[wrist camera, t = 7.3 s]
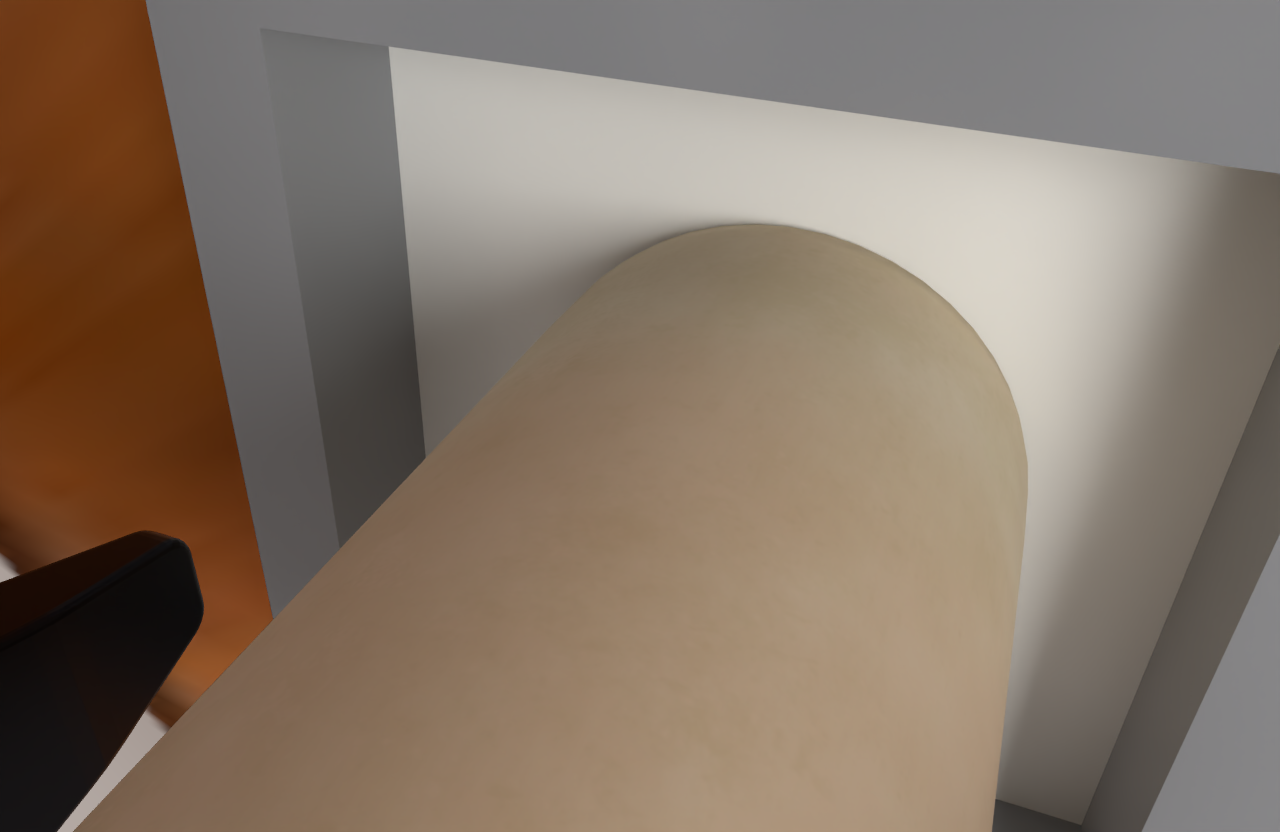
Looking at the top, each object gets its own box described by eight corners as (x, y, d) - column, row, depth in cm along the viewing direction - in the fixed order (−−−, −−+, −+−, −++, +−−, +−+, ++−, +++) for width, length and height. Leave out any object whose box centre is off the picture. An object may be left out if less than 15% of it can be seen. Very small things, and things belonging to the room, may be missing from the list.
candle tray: (2092, -339, 7) (2575, -369, 4) (1253, 985, 15) (1277, 1202, 13) (135, -381, 11) (-117, -408, 9) (323, 676, 19) (219, 800, 17)
